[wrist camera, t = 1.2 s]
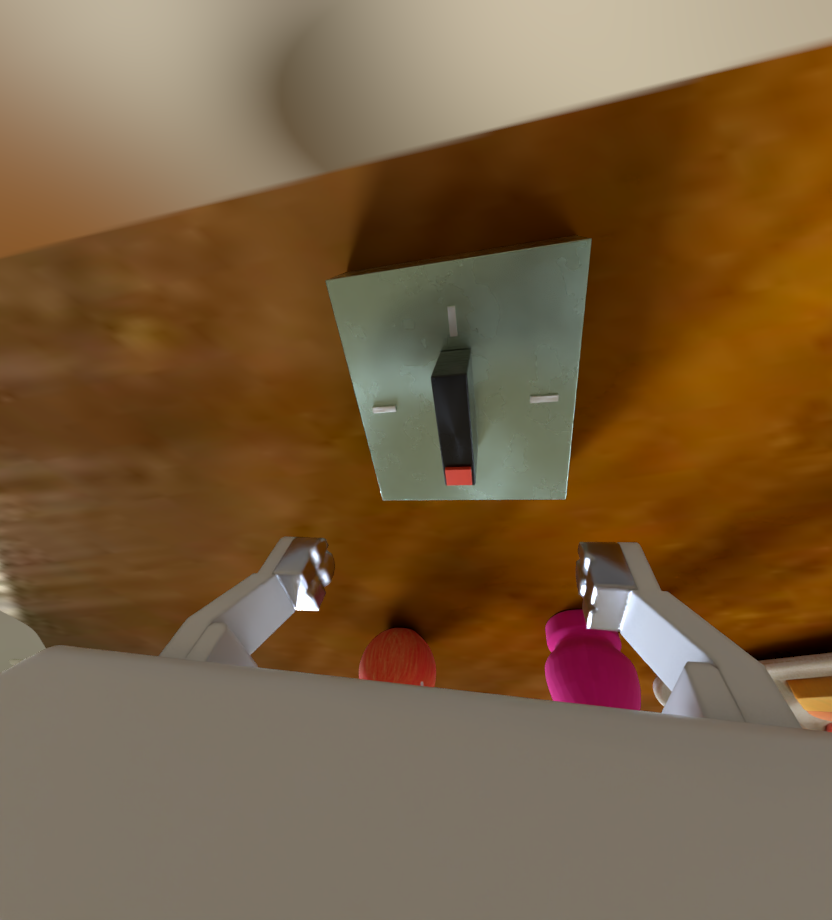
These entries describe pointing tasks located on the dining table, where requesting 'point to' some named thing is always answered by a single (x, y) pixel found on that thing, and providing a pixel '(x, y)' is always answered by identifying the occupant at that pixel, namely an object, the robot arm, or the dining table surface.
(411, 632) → the apple
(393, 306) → the panel
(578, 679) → the pepper mill
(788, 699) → the puzzle board
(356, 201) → the dining table surface
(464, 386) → the black switch lever
